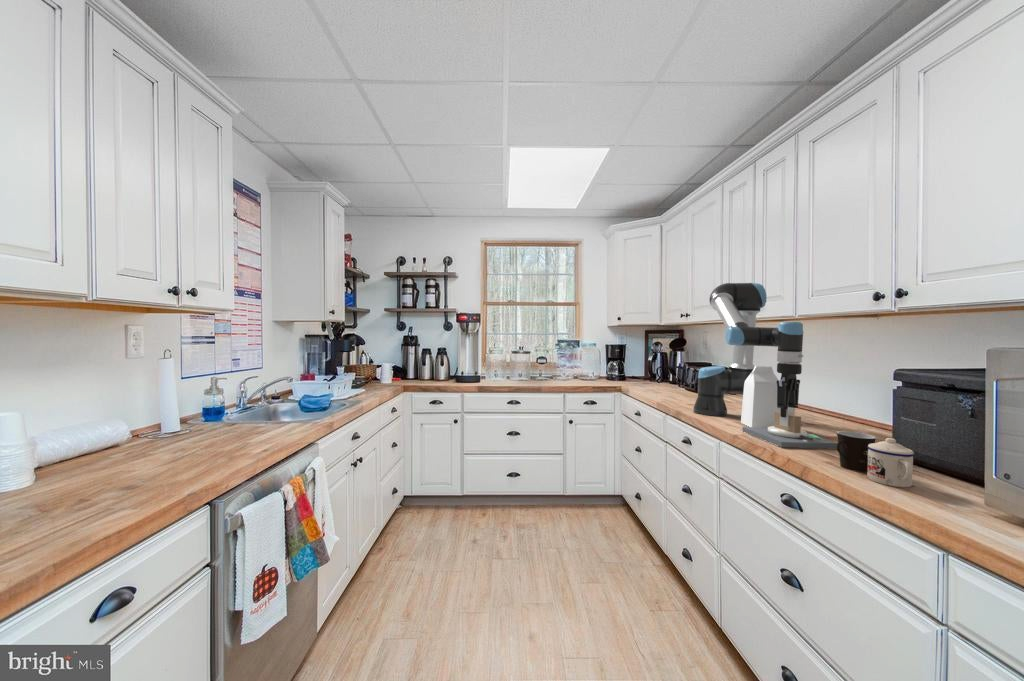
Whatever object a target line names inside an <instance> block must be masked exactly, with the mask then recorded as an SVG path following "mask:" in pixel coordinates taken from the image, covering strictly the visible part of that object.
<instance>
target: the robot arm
mask: <svg viewBox="0 0 1024 681" xmlns="http://www.w3.org/2000/svg"><path fill="white" fill-rule="evenodd" d="M766 303H767V291H766V289H765V287H764V285H763V284H762V283H755V282H739V283H738V282H733V283H732V282H729V283H728V282H726V283H722V284H719V285H718V286H716V287H715V288H714V289H713V290H712V291H711V293H710V295H709V304H710V306H711V308H712V309H713V310H714V311H716V312H717V314H718V316H719V317H720V319H721V321H722V323H723V324H724V326H725V328H726V331H725V337H724V338H725V342H726V344H728V345H729V346H733V349H732V350H733V351H732V352H733V353H732V362H731V363H729V365H728V369H726V368H725V366H721V365H719V366H715V365H714V366H705V367H701V368H699V370H698V376H697V381H698V382H697V398H696V399H695V402H694V405H693V410H692V411H693V412H694V413H695V412H696V414H699V413H700V415H705V416H714V417H715V416H716V417H720V416H721V417H722V416H723V417H724V416H727V415H728V409H727V404H726V401H725V399H724V396H725V394H739V395H740V394H741V395H743V392H744V382H745V380H746V379H747V377H748V376H749V375H750V374H751V372H752V371H753V369H754V367H755V366H756V365H754V364H753V363H754V353H755V352H754V350H755V346H756V347H757V346H758V347H775V348H777V353H776V354H777V356H776V358H777V359H776V361H777V364H776V372H777V373H778V374H781V375H780V380H779V379H778V380H777V407H778V408H780V425H781V426H786V427H789V414H792V415H796V411H795V410H796V409H798V408H799V393H800V385H801V379H797V375H801V374H802V372H803V371H802V369H803V368H802V366H803V365H802V362H803V361H802V360H803V358H804V355H803V346H804V345H803V343H804V341H803V340H804V324H803V323H802V322H801V321H781V322H779V323H778V327H763V326H762V327H758V326H756V324H757V323H756V322H757V315H758V314H759V313H760V312H761V309H762V308H764V307H765V306H766ZM800 363H801V364H800Z"/></svg>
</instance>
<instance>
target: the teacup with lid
mask: <svg viewBox="0 0 1024 681" xmlns="http://www.w3.org/2000/svg"><path fill="white" fill-rule="evenodd" d="M867 448H868V471H867V472H866V473H867V478H868V479H869V480H870V481H873V482H875V483H878V484H880V485H884V486H885V485H886V486H888V487H889V486H890V487H895V488H911V487H913V474H914V469H913V468H914V467H913V466H914V456H915V452H914V451H913V450H912V449H910V448H907V447H905V446H903V445H902V444H900V443H897V440H896V439H895V438H891V437H886V438H885V441H884V440H883V441H878V442H875V443H871V444H869V445H868V446H867Z"/></svg>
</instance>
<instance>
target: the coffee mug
mask: <svg viewBox="0 0 1024 681" xmlns="http://www.w3.org/2000/svg"><path fill="white" fill-rule="evenodd" d="M836 436H837V443H838V444H837V449H836V450H837V453H838V454H839V456H838V457H839V464H840V465H839V466H840V468H843V469H846V470H848V471H853V472H858V473H867V471H868V448H867V446H868V445H869V444H871V443H876V439H877V437H876V436H875V435H872V434H867V433H862V432H858V431H846V430H839V431H836Z"/></svg>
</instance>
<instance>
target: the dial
mask: <svg viewBox="0 0 1024 681" xmlns="http://www.w3.org/2000/svg"><path fill="white" fill-rule="evenodd" d="M801 422H802V416H799V415H796V414H795V415H792V414H789V427H786V426H781V425H780V412H775V419H774V426H770V427H768V432H769V433H771V434H774V435H778V436H782V437H789V438H804V439H807V440H813V438H811V437H807V433H808V432H807V431H805V430H802V429H801V427H802V426H801V425H802V423H801Z"/></svg>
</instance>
